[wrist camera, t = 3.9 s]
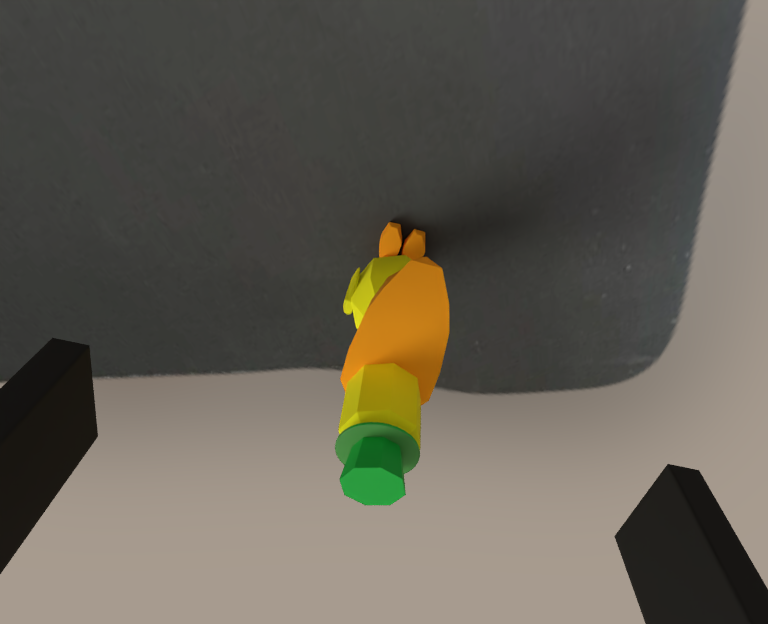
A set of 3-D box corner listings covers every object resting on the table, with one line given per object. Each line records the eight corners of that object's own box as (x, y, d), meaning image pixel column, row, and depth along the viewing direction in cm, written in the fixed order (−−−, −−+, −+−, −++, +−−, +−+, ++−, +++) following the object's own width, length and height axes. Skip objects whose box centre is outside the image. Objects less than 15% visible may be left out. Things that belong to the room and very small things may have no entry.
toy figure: (382, 153, 20) (338, 325, 10) (471, 178, 21) (517, 369, 10) (344, 299, 24) (284, 536, 14) (421, 319, 24) (418, 566, 14)
